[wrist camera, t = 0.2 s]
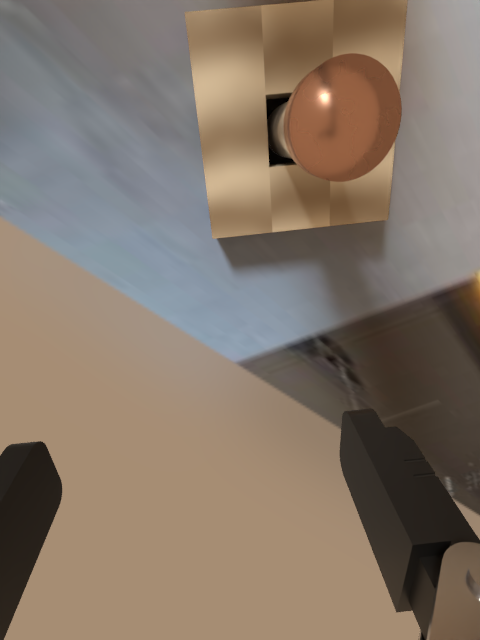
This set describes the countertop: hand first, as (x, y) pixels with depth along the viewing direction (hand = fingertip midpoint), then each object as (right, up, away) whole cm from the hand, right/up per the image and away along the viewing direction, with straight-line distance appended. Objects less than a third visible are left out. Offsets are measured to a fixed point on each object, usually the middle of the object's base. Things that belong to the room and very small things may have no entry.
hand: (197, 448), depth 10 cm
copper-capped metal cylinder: (+6, +21, +23) cm, 31 cm away
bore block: (+6, +21, +23) cm, 31 cm away
